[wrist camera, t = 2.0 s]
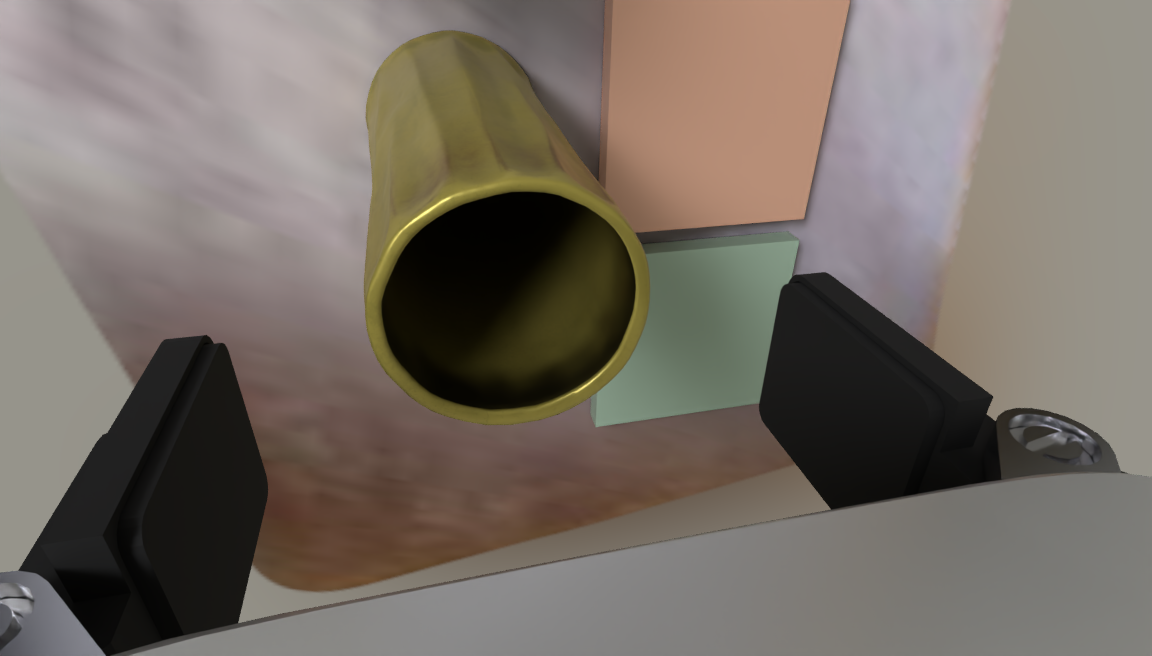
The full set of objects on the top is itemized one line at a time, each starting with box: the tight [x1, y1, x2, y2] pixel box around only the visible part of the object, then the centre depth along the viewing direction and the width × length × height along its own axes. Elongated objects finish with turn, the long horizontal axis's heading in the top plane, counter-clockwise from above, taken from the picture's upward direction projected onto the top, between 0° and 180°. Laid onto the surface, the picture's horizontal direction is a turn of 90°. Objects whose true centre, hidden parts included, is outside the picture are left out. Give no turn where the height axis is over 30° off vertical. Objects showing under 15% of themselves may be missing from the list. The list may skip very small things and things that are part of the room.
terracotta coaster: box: [599, 0, 850, 233], centre depth 25 cm, size 9×9×1 cm
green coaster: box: [591, 231, 799, 427], centre depth 30 cm, size 9×9×1 cm
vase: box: [364, 30, 650, 425], centre depth 18 cm, size 6×6×14 cm
